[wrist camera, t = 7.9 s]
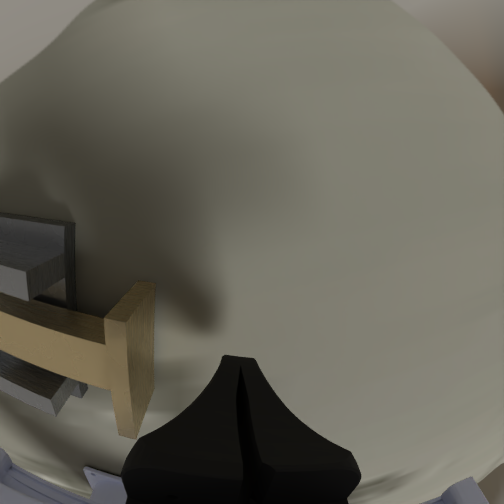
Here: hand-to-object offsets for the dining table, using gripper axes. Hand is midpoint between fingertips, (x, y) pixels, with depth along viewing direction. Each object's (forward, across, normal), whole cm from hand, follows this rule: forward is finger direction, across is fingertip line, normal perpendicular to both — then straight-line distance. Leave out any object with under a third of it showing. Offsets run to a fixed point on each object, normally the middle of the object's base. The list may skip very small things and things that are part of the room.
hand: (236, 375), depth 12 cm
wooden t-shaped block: (+2, +9, 0) cm, 9 cm away
